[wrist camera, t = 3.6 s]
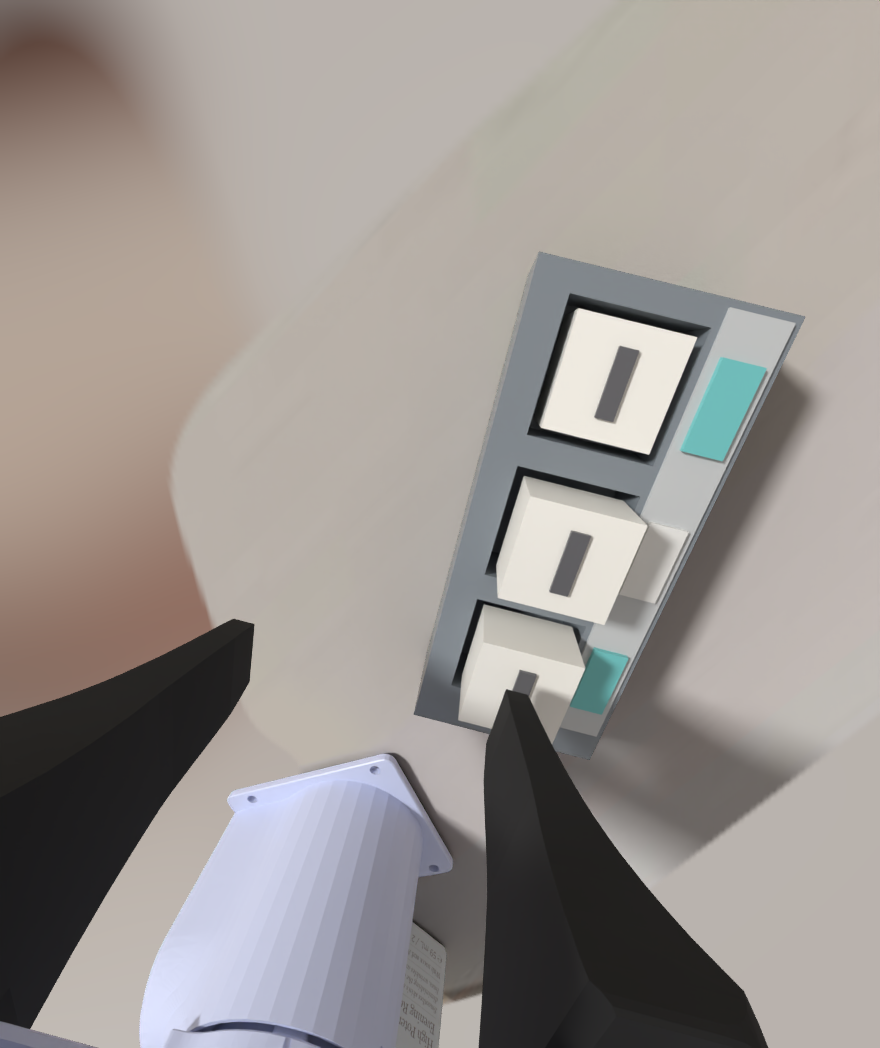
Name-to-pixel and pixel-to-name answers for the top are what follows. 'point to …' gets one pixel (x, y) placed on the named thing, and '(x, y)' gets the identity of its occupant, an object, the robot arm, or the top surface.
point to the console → (605, 473)
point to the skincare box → (422, 992)
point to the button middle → (567, 550)
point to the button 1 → (520, 667)
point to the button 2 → (612, 380)
